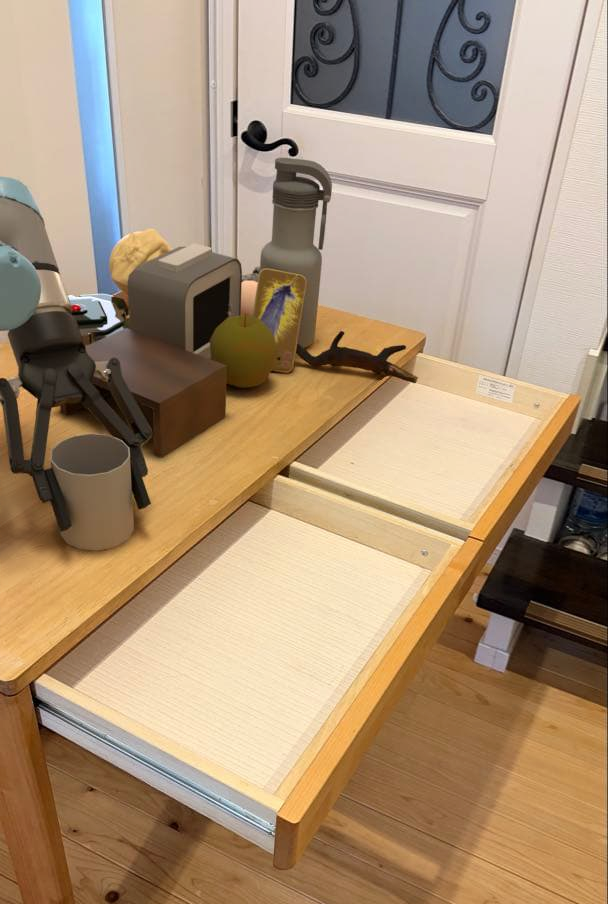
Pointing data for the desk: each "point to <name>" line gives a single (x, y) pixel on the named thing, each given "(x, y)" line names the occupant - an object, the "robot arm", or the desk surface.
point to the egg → (248, 297)
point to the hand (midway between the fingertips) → (106, 517)
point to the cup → (95, 490)
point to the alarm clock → (184, 296)
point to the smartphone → (281, 311)
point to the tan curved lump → (134, 254)
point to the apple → (244, 350)
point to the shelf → (164, 385)
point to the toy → (357, 359)
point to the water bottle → (298, 232)
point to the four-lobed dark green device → (99, 316)
